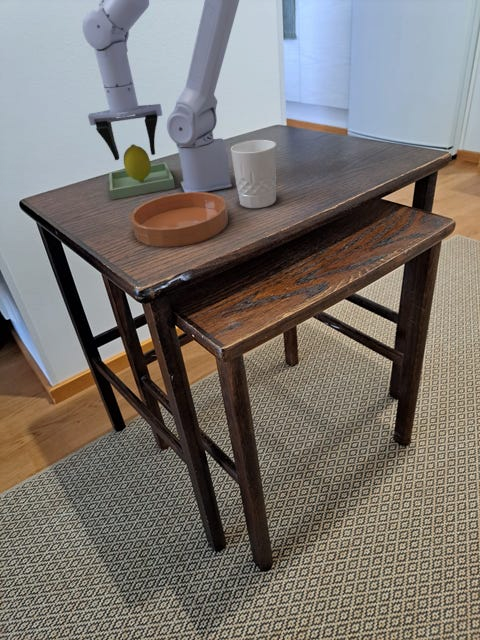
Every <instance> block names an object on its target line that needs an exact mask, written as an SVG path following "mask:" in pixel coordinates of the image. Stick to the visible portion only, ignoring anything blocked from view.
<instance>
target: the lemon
mask: <svg viewBox="0 0 480 640" xmlns="http://www.w3.org/2000/svg"><path fill="white" fill-rule="evenodd" d="M151 165H152V164H151V160H150V157H149V155H148V153H147V151H146V150H145V149H144V148H142V147H141V146H140V145H139V146H138V145H136V144H133V143H132V144H130V146H129V147H128V148H127V149H126V150H125V152H124V153H123V166H124V170H126V172H127V173H128V175H129V176H130V177H131V178H133V179H135V180H138V181H139V182H143V181H144V179H145V178H146V177H147V176H148V175H149V173H150V170H151Z"/></svg>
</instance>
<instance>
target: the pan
mask: <svg viewBox="0 0 480 640" xmlns="http://www.w3.org/2000/svg"><path fill="white" fill-rule="evenodd" d="M227 205H228V204H227V202H226V200H225V199H224V197H222V196H220V195H218V194H215V193H211V192H184V191H183V192H177V193H171V194H166V195H163V196H159V197H156V198H153V199H150V200H149V201H146V202H144V203H142V204H140V205H139V206H138V207H136V208H135V209H133V212H131V214H130V222H131V226H132V230H133V234H134V236H135V238H136V240H137V241H139V242H140V243H142V244H144V245H147V246H152V247H157V248H158V247H160V248H161V247H162V248H172V247H183V246H188V245H189V246H190V245H192V244H196V243H200V242H203V241H205V240H208V239H210V238H213V237H215V236H216V235H218V234H219V233H221V232H222V231H223V230H224V229H225V228H226V227H227V226H228V222H229V214H228V206H227Z"/></svg>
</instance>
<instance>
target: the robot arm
mask: <svg viewBox="0 0 480 640" xmlns="http://www.w3.org/2000/svg"><path fill="white" fill-rule="evenodd" d="M239 2H240V0H204V2H203V6H202V11H201V15H200V18H199V19H200V21H199V24H198V29H197V33H196V37H195V38H196V39H195V43H194V47H193V51H192V56H191V59H190V64H189V69H188V72H187V73H188V74H187V78H186V81H185V87H184V88H183V90H182V92H181V93H180V95H179V96H178V98H177V100H176V102H175V105H174V108H173V111H172V112H171V113H170V114H169V115H168V117H167V121H166V130H167V133H168V136H169V137H170V139H171V140H172V141H173V143H175V145H176V148H177V151H178V157H179V162H180V168H181V173H182V174H181V175H182V180H183V181H180V185H181V187H182V190H183V193H184V192H206V193H209V192H212V191H218V190H223V189H229V188H232V187H233V185H232V182H231V181H232V180H231V174H230V165H229V157H228V156H229V155H228V151H227V146H226V143H225V140H224V138H221V137H220V138H214V132H213V131H214V130H215V129H216V126H217V121H218V118H217V106H218V99H217V97H216V95H215V93H216V88H217V84H218V81H219V77H220V74H221V69H222V66H223V63H224V60H225V59H224V58H225V55H226V51H227V47H228V45H229V44H228V43H229V41H230V37H231V33H232V29H233V25H234V21H235V17H236V14H237V11H238V7H239ZM98 6H99V7H98V9H97V10H89V11H86V13H85V16H84V18H83V19H82V33H83V36H84V38H85V40H86V42H87V43H88V44H89V46H90V47H91V48H93V49H94V54H95V57H96V61H97V65H98V69H99V74H100V78H101V81H102V85H103V88H104V92H105V97H106V100H107V105H108V109H106V110H103V111H97V112H90V113H88V114H87V118H88V121H89V125H90V126H95V130H96V132H97V133H98V134H99V136H100V137H101V138H102V139H103V140H104V142H105V143H106V145H107V146H108V148H109V150H110V152H111V154H112V156H113V158H114V161H119V160H120V153H119V149H118V147H117V144H116V140H115V136H114V131H113V125H112V123H113V122H120V121H128V120H136V119H142V118H143V119H144V124H145V128H146V133H147V137H148V142H149V150H150V154H151V156H155V155H156V148H155V139H156V138H155V137H156V129H157V124H158V117H162V116H163V111H162V104H161V103H155V104H145V105H144V104H143V105H139V103H138V98H137V92H136V89H135V84H134V79H133V75H132V71H131V66H130V65H131V64H130V61H129V56H128V52H129V49H128V46H127V44H128V39H129V37H130V30H131V29H132V27H133V26H134V25H135V24H136V23H137V21H138V20H139V19H140V18H141V17H142V15H143V14H144V13H145V12H146V11H147V9H148V8H149V7H150V0H100V1H99V2H98Z"/></svg>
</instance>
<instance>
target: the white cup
mask: <svg viewBox="0 0 480 640" xmlns="http://www.w3.org/2000/svg"><path fill="white" fill-rule="evenodd" d="M230 154H231V161H232V166H233V167H232V168H233V174H234V178H235V185H236V190H237V193H238V198H239V204H240V206H242V207H243V208H246V209H261V208H266V207H269V206H272V205H273V204H275V203H276V201H277V176H278V175H277V173H278V171H277V143H276V142H275V141H273V140H268V139H254V140H247V141H243V142H242V141H241V142H238V143H236V144H233V145H232V146H231V147H230Z"/></svg>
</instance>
